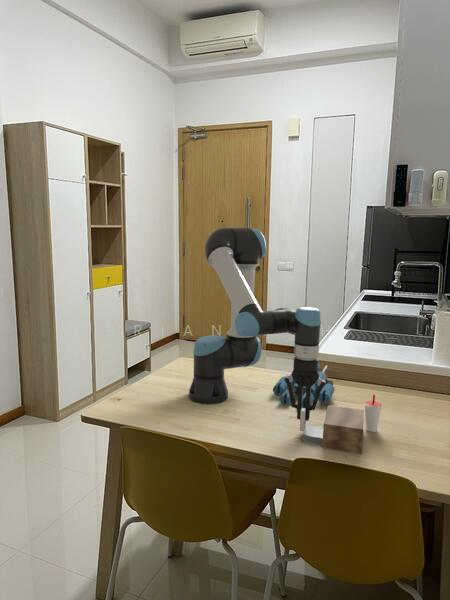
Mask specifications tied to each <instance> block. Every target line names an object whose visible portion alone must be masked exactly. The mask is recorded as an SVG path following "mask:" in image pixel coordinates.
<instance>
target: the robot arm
mask: <svg viewBox="0 0 450 600" xmlns="http://www.w3.org/2000/svg"><path fill="white" fill-rule="evenodd" d="M266 253H267V241H266V237H265V236H264V235H263V233H262V232H261V230H259V229H258V228H257V229H256V228H252V227H251V228H250V227H220V228H217V229H215V230H214V231H212V233H210V234H209V236H208V238H207V240H206V241H205V245H204V254H205V255H204V256H205V257H206V260H207V263H208V264H209V266H210V267H213V268H214V270H215V271H216V275H217V276H218V277H219V280H220V282H221V285H222V286H223V288H224V290H225V292H226V295H228V297H229V300H230V302H231V307H230V309H231V310H230V329H229V330H227V331H226V338H225V337H224V336H223V335H219V334H215V335H213V334H210V335H205V336H201V337H200V338H199V337H198V338H197V339H196V341H194V345H193V346H194V347H193V379H192V381H191V384H190V387H189V389H188V398H189V400H190V401H192V402H194V403H199V404H202V405H203V404H206V405H211V404H220V403H222V402H223V403H224V402H225V401H227V400H228V399H229V390H228V387H227V384H226V380H225V370H228V369H236V368H247V367H250V366H254V365H256V364H257V363H258V362H259V361H260V359H261V356H262V351H263V349H262V348H263V347H262V343H261V340H260V338H259V337H257V336H264V335H277V334H285V333H286V334H290V335H293V336H294V346H293V347H294V348H293V349H294V350H293V355H294V357H293V369H292V372H291V374H290V375H286V376H284V377H285V379H284V380H285V382H286V384H287V386H288V388H287V389H288V391H289V396H290V401H291V403H290V405H291V407H292V408H293V409H296V410H297V412H296V419H297V420H299V431H301V432H304V430H305V427H306V425H307V421H310V418H311V417H310V414H311V412H310V411H315V410H316V407H317V404H318V402H319V400H318V398H319V395H320V392H321V389H322V388H323V387H324V385H325V383H326V381H325V380H322V379H321V378H320V377H319V374H318V372H319V371H318V364H319V359H318V358H319V354H320V353H319V352H320V351H319V350H320V335H321V333H320V332H321V323H322V321H321V310H320V309H318V308H316V307H310V306H299V307H297V308H296V309H295V310H293V309H291V308H287V307H278V308H276V309H275V310H262V308H261V306H260V304H259V303H258V301H257V299H256V298H255V282H256V280H255V279H256V278H255V277H256V276H255V275H256V268H257V267H258V266H259V265H260V260H262V259H263V258H264V257H265V254H266ZM293 379H294V380H295V382H296V383H297V385H298V395H297V399H296V394H295V393H294V388H293V383H292V381H293ZM316 381H318V383H317V384H318V388H317V391H316V395H314V401H313V403H312V404H311V405H310V402H311V386H313V384H314V383H315V382H316ZM303 386H305V387H306V407H305V408H302V397H303Z"/></svg>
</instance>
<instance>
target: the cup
mask: <svg viewBox="0 0 450 600" xmlns="http://www.w3.org/2000/svg"><path fill="white" fill-rule="evenodd" d="M375 400H376V395H375V394H373V395H372V400H366V401H364V409H365V410H364V419H365V430H366V431H367V432H370V433H376V432H377V431H378V428H379V427H378V426H379V422H380V415H381V409H382V406H383V404H382V403H381V402H379V401H375ZM375 431H376V432H375Z"/></svg>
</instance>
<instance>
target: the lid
mask: <svg viewBox="0 0 450 600" xmlns="http://www.w3.org/2000/svg"><path fill="white" fill-rule="evenodd" d="M323 429H324V426H323V427H322V426H316V425H309V424H306V427H305V430H304V431H302V432H303V433H302V435H301V436H302V437H301V438H302V440H301V441H302V442H306V443H312V444H319V445H323Z"/></svg>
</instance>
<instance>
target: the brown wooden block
mask: <svg viewBox="0 0 450 600" xmlns="http://www.w3.org/2000/svg"><path fill="white" fill-rule="evenodd" d="M326 409H327V410H326V414H325V417H324V421H323V428H324V429H323V444H322V449H329V450H335V451H341V452H346V453H347V452H348V453H354V454H360V455H362V454H363V453H362V452H363V440H364V439H363V438H364V422H365V420H364V419H365V410H364V409H358V408H351V407H345V406H344V407H343V406H336V405H328V406H327V408H326Z"/></svg>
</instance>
